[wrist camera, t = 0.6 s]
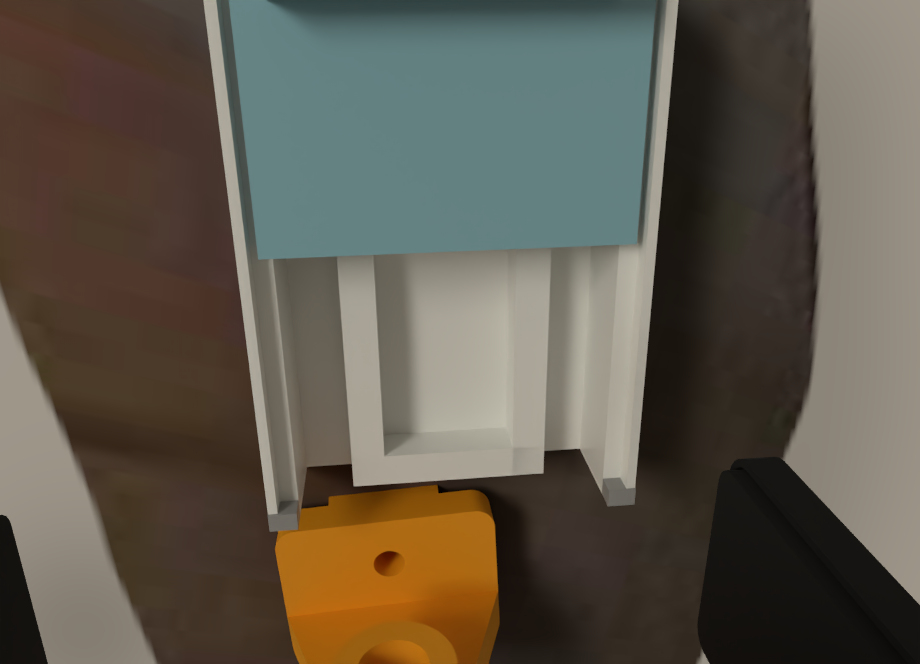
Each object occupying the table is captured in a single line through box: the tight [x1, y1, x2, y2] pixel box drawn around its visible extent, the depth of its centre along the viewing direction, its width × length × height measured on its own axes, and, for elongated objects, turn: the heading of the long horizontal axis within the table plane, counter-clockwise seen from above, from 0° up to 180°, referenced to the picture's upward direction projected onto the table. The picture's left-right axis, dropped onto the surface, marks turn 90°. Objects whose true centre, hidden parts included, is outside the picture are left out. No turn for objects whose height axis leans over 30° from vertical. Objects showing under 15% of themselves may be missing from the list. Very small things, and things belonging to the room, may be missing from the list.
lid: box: [229, 0, 656, 260], centre depth 27 cm, size 10×14×3 cm
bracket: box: [275, 485, 500, 664], centre depth 36 cm, size 11×7×12 cm
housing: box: [204, 0, 678, 532], centre depth 32 cm, size 22×16×6 cm
